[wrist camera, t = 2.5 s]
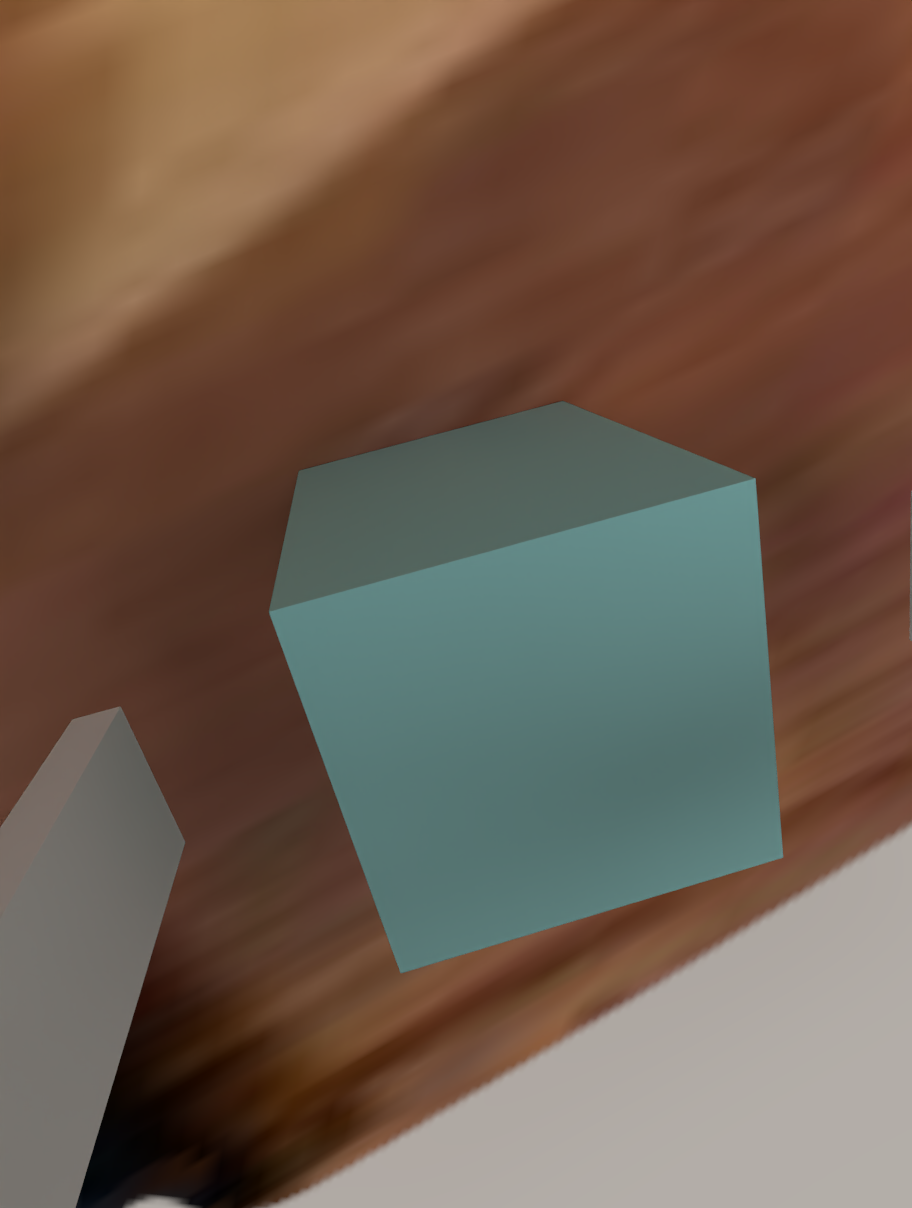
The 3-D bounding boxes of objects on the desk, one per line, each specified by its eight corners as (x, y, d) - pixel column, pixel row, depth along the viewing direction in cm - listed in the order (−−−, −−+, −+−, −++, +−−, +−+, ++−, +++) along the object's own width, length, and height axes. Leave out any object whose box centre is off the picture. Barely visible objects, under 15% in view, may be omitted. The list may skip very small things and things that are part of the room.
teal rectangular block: (373, 703, 19) (400, 973, 11) (298, 470, 16) (269, 611, 9) (603, 638, 19) (783, 857, 11) (563, 401, 17) (755, 478, 9)
